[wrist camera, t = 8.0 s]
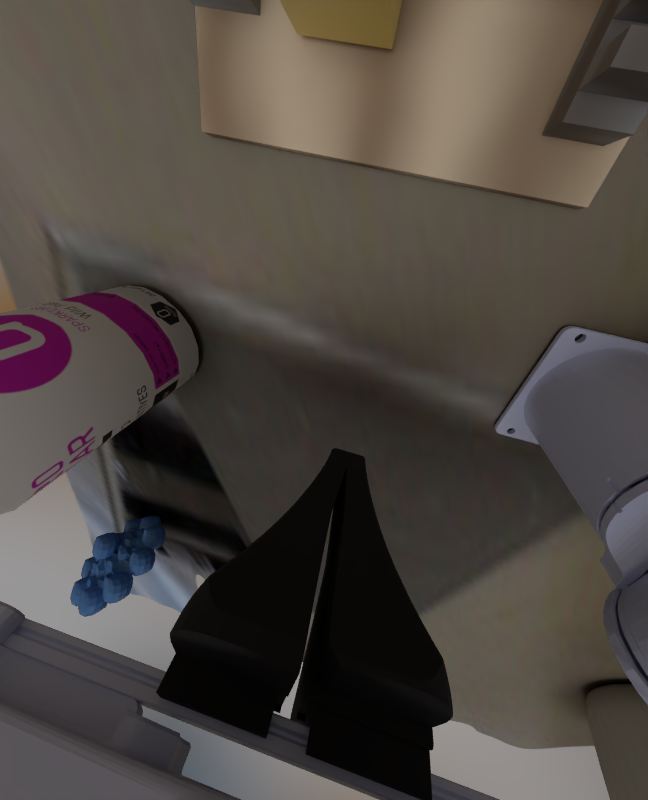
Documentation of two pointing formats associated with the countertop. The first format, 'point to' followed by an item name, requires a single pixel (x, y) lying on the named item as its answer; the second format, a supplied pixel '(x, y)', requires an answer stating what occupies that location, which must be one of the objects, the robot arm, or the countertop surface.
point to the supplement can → (82, 379)
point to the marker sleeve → (346, 20)
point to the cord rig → (438, 90)
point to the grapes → (117, 564)
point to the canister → (620, 739)
